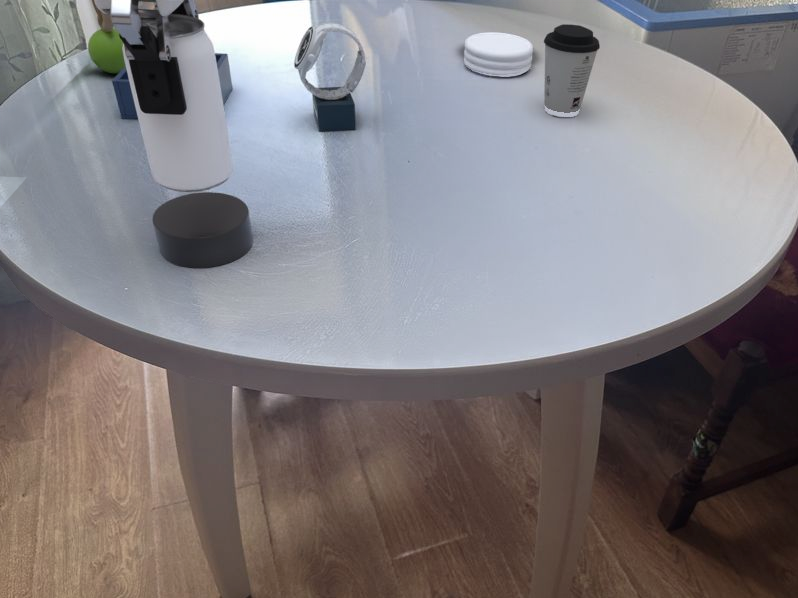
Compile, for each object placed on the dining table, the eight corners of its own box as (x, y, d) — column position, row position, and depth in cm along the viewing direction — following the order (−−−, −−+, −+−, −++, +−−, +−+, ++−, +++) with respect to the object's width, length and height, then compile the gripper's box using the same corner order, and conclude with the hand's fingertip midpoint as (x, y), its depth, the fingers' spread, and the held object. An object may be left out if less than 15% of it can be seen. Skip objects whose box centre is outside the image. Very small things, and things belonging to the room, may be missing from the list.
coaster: (510, 84, 100) (513, 58, 97) (450, 67, 103) (451, 42, 101) (542, 65, 106) (545, 41, 104) (485, 50, 110) (487, 26, 108)
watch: (297, 114, 87) (288, 18, 80) (362, 110, 89) (359, 17, 82) (302, 132, 83) (293, 34, 76) (370, 129, 85) (367, 32, 78)
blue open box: (121, 118, 83) (111, 80, 80) (147, 85, 91) (139, 49, 88) (215, 122, 84) (209, 84, 81) (232, 88, 92) (227, 53, 89)
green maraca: (103, 84, 90) (76, -19, 83) (89, 68, 94) (62, -32, 86) (147, 78, 93) (124, -23, 85) (132, 62, 97) (109, -36, 89)
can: (171, 201, 56) (136, 43, 49) (140, 170, 60) (103, 18, 52) (247, 181, 60) (225, 30, 52) (214, 152, 63) (188, 8, 56)
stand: (148, 267, 61) (140, 237, 59) (172, 219, 67) (165, 190, 65) (244, 269, 61) (239, 239, 59) (259, 221, 67) (255, 193, 66)
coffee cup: (591, 123, 91) (606, 41, 84) (537, 120, 90) (548, 38, 84) (584, 102, 96) (597, 24, 90) (532, 99, 96) (542, 20, 89)
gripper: (101, -207, 50) (157, 55, 62) (-9, -189, 37) (88, 139, 48) (211, -199, 51) (245, 59, 62) (141, -179, 38) (201, 143, 49)
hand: (176, 92), depth 55 cm, fingers closed on can, 6 cm apart
